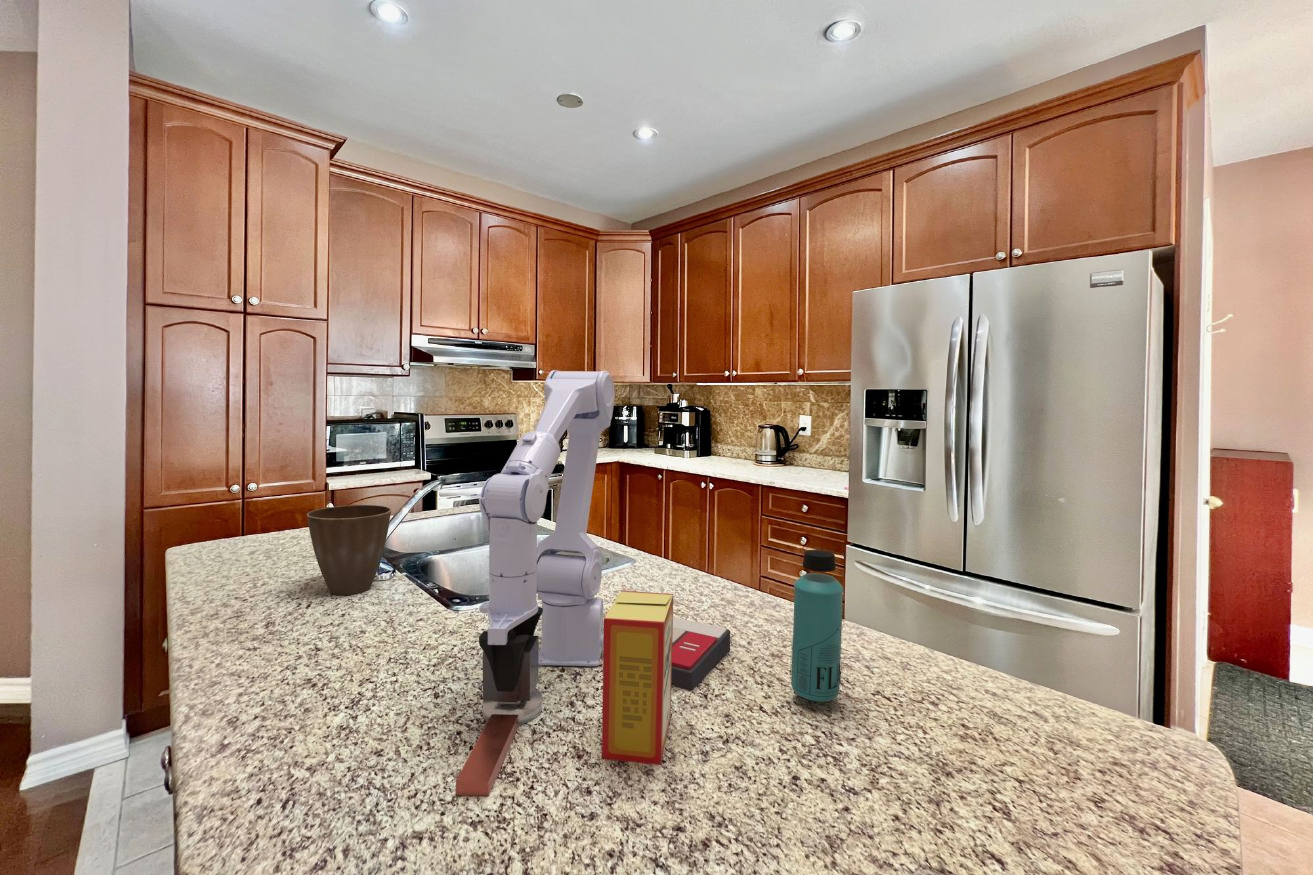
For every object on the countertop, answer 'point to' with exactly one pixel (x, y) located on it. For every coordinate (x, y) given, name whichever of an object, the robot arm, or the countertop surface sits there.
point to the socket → (526, 675)
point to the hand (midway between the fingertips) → (512, 677)
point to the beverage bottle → (817, 630)
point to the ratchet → (495, 743)
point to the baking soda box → (637, 677)
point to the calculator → (696, 651)
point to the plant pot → (349, 545)
